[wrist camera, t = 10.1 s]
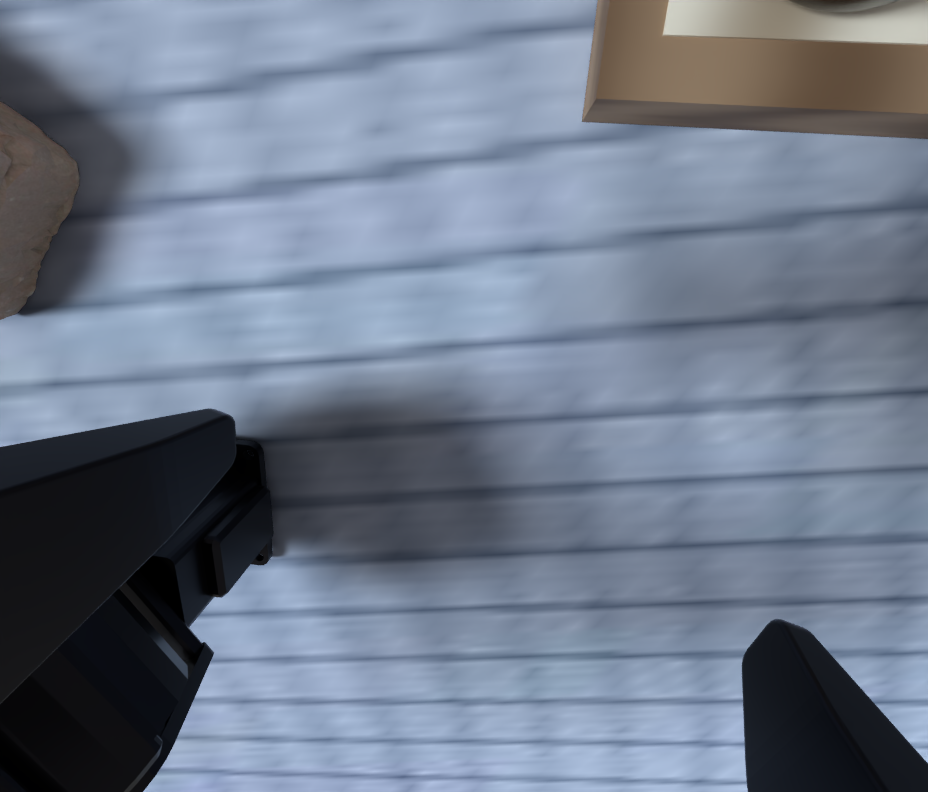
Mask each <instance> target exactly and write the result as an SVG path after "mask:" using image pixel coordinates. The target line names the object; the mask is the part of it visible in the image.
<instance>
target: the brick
mask: <svg viewBox="0 0 928 792" xmlns="http://www.w3.org/2000/svg"><path fill="white" fill-rule="evenodd" d="M78 187H79V171H78V167H77V162H76V161H75V160H74V159H73V158H71V157H70V156H69V154H68V152H67V151H66V150H65V149H64V148H63V147H61V146H60V145H58V144H56V143H55V142H54V141H52V140H51V139H50V138H48V137H47V136H46V135H45V134H44V132H43V131H42V130H41V129H40V128H39V127H37V126H36V125H35V124H33V123H32V122H30V121H29V120H27V119H26V118H24V117H23V116H22V115H20V114H19V113H17V112H16V111H14V110H13V109H12V108H10V107H9V106H7V105H6V104H4V103H2V102H1V101H0V320H1V319H4V318H6V317H9V316H12V315H15V314H17V313H18V312H19V311H20V309H21V308H22V307H23V306H24V305H25V304H26V301H27V298H28V297H29V296H31V295H32V294H33V292H34V291H35V289H36V280H37V278H38V271H39V269H40V268H41V261H42V259H43V258H44V256H45V253H46V252H47V251H48V249H49V248H50V244H49V243H50V242H51V241H52V237H53V236H54V235H56V234H57V232H58V230H59V227H60V224H61V222H63V221H64V220H65V218H66V217H67V215H68V214H69V212H70V210H71V209H72V205H73V201H74V197H75V195H76V192H77V190H78Z"/></svg>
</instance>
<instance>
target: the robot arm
mask: <svg viewBox="0 0 928 792" xmlns="http://www.w3.org/2000/svg"><path fill="white" fill-rule="evenodd" d="M247 450H249V451H251V452H252V453H253V455H254V456H251V455H250V454H249V453H248V451H247ZM272 536H273V522H272V511H271V499H270V491H269V489H268V488H267V485H266V474H265V463H264V452H263V449H262V447H261V446H260V445H259V444H258V443H256V442H253V441H245V440H236V432H235V421H234V419H233V417H232V416H230V415H229V414H226V413H223V412H220V411H218V410H215V409H203V410H198V411H192V412H187V413H182V414H176V415H171V416H166V417H160V418H155V419H149V420H144V421H139V422H133V423H128V424H123V425H117V426H112V427H106V428H101V429H96V430H90V431H85V432H80V433H74V434H69V435H63V436H58V437H53V438H47V439H42V440H37V441H31V442H26V443H20V444H15V445H10V446H4V447H0V792H143V791H144V790H145V788H146V787H147V786H148V785H149V783H150V782H151V781H152V780H153V778H154V777H155V776H156V774H157V773H158V771H159V770H160V768H161V766H162V765H163V763H164V762H165V760H166V759H167V757H168V755H169V753H170V751H171V749H172V747H173V745H174V743H175V741H176V738H177V736H178V734H179V732H180V729H181V727H182V725H183V723H184V720H185V718H186V716H187V713H188V711H189V709H190V707H191V704H192V702H193V700H194V698H195V695H196V693H197V691H198V689H199V686H200V684H201V682H202V679H203V677H204V675H205V673H206V670H207V668H208V666H209V664H210V661H211V659H212V657H213V655H214V652H213V651H212V650H211V649H210V647H209V646H208V645H207V644H206V643H205V642H203V643H201V642H200V640H199V639H198V638H197V637H196V636H195V635H194V633H193V632H192V631H191V630H190V629H189V627H190V626H191V624H192V623H193V622H194V621H195V620H196V618H197V617H198V616H199V615H200V613H201V612H202V611H203V610H204V609H205V607H206V606H207V605H208V604H209V602H210V601H211V600H212V599H213V598H214V597H221V598H222V597H223V596H224V595H225V594H227V593H228V592H229V591H230V589H231V588H232V587H233V586H234V584H235V583H236V582H237V581H238V579H239V578H240V577H241V575H242V574H243V573H244V572H245V570H246V569H247V568H248V567H249V565H250V564H254V565H264V564H266V563H267V562H268V561H269V559H270V558H271V557H272V554H273V551H272V540H271V538H272ZM259 553H261V554H262V555H263V556H262V555H260V554H259ZM742 684H743V711H744V737H745V763H746V778H747V788H748V792H928V763H927V762H926V761H925V760H924V759H923V758H922V756H921V755H920V754H919V753H918V752H917V751H916V750H915V749H914V748H913V746H912V745H911V744H910V743H909V742H908V741H907V740H906V739H905V737H904V736H903V735H902V734H901V733H900V732H899V731H898V730H897V728H896V727H895V726H894V725H893V724H892V723H891V722H890V721H889V719H888V718H887V717H886V716H885V715H884V714H883V713H882V712H881V710H880V709H879V708H878V707H877V706H876V705H875V704H874V703H873V702H872V700H871V699H870V698H869V697H868V696H867V695H866V694H865V693H864V691H863V690H862V689H861V688H860V687H859V686H858V685H857V684H856V682H855V681H854V680H853V679H852V678H851V677H850V676H849V675H848V673H847V672H846V671H845V670H844V669H843V668H842V667H841V666H840V664H839V663H838V662H837V661H836V660H835V659H834V658H833V657H832V656H831V654H830V653H829V652H828V651H827V650H826V649H825V648H824V647H823V645H822V644H821V643H820V642H819V641H818V640H817V639H816V638H815V636H814V635H813V634H812V633H811V632H810V631H808V630H807V629H805V628H803V627H800V626H797V625H795V624H792V623H789V622H787V621H784V620H781V619H775V620H772V621H771V622H770V623H768V625H767V626H766V627H765V628H764V629H763V631H762V632H761V633H760V634H759V636H758V637H757V638H756V639H755V640H754V642H753V643H752V644H751V645H750V647H749V648H748V649H747V651H746V652H745V655H744V657H743V662H742Z"/></svg>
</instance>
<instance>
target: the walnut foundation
mask: <svg viewBox="0 0 928 792" xmlns="http://www.w3.org/2000/svg"><path fill="white" fill-rule="evenodd" d="M582 122H599V123H619V124H639V125H659V126H679V127H699V128H719V129H739V130H760V131H780V132H800V133H820V134H840V135H860V136H880V137H900V138H920V139H928V0H899V1H896V2H894V3H891V4H888V5H884V6H881V7H878V8H873V9H868V10H863V11H854V12H825V11H818V10H813V9H809V8H806V7H803V6H800V5H798V4H795V3H793V2H791V1H789V0H598V3H597V10H596V18H595V25H594V33H593V41H592V48H591V56H590V64H589V71H588V79H587V87H586V94H585V102H584V110H583V117H582Z"/></svg>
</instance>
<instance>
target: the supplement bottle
mask: <svg viewBox="0 0 928 792" xmlns="http://www.w3.org/2000/svg"><path fill="white" fill-rule="evenodd" d="M789 1H791V2H793V3H795V4H798V5H800V6H803V7H806V8H809V9H813V10H818V11H825V12H854V11H863V10H868V9H873V8H878V7H881V6H884V5H888V4H891V3H894V2H896V1H899V0H789Z"/></svg>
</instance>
